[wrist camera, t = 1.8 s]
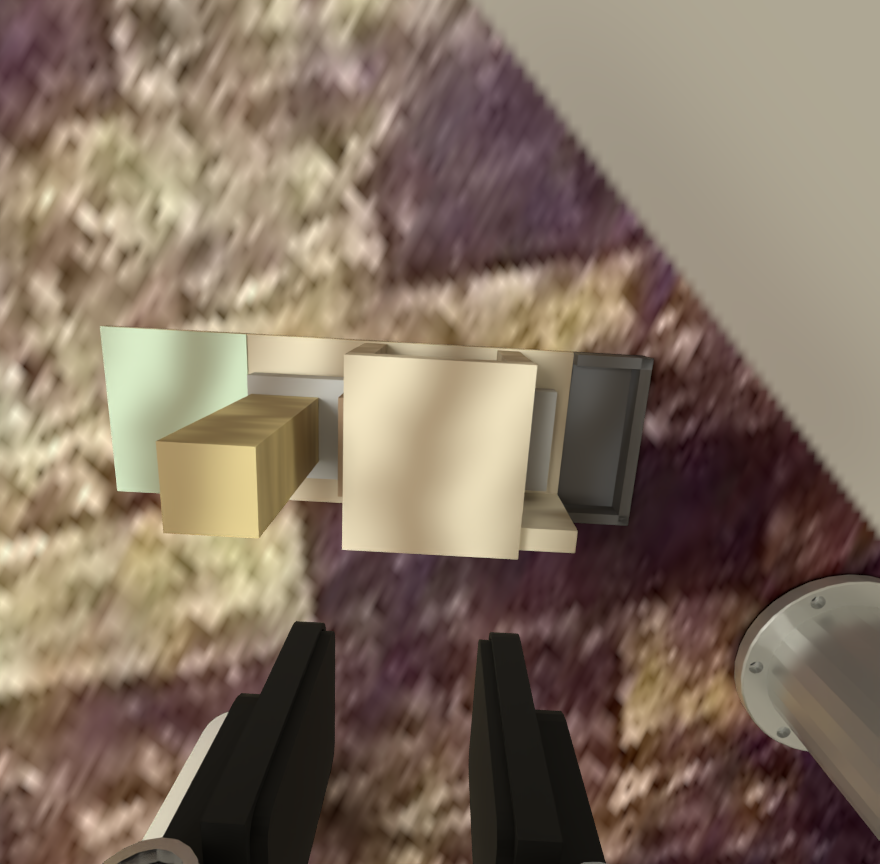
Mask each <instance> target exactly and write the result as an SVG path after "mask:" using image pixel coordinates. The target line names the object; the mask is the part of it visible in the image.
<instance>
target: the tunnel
mask: <svg viewBox="0 0 880 864" xmlns="http://www.w3.org/2000/svg"><path fill="white" fill-rule="evenodd" d="M100 332H101V341H102V351H103V360H104V369H105V379H106V388H107V397H108V407H109V416H110V425H111V435H112V444H113V454H114V463H115V472H116V482H117V491H128V492H146V493H160V485H159V474H158V462H157V450H156V441H157V440H159V439H161V438H163V437H165V436H167V435H169V434H171V433H173V432H175V431H177V430H179V429H181V428H183V427H185V426H187V425H189V424H191V423H193V422H195V421H198V420H200V419H202V418H204V417H206V416H208V415H210V414H212V413H214V412H216V411H218V410H220V409H222V408H224V407H226V406H228V405H230V404H232V403H234V402H236V401H238V400H240V399H242V398H244V397H246V396H248V389H247V375H248V374H251V373H253V372H262V373H279V374H297V375H315V376H333V377H344V399H343V497H338V480H335V479H317V478H306V479H305V480H304V481H303V482H302V484H301V485H300V486H299V488H298V489H297V490H296V491H295V493H294V494H293V495H292V496H291V498H290V499H289V500H301V501H318V502H336V503H343V522H342V550H358V551H376V552H394V553H412V554H430V555H448V556H465V557H483V558H501V559H518V552H519V550H528V551H546V552H564V553H575V548H576V541H577V533H578V531H577V529H576V527H575V525H574V524H573V523H589V524H607V525H625V526H628V520H629V514H630V507H631V501H632V494H633V488H634V482H635V475H636V469H637V462H638V456H639V450H640V443H641V437H642V430H643V424H644V418H645V411H646V405H647V398H648V392H649V386H650V379H651V373H652V366H653V360H654V359H652V358H649V357H646V356H639V355H621V354H603V353H585V352H568V351H550V350H532V349H514V348H496V347H478V346H461V345H443V344H425V343H407V342H389V341H371V340H354V339H336V338H318V337H300V336H282V335H265V334H247V333H229V332H211V331H193V330H175V329H158V328H140V327H122V326H100ZM535 388H547V389H554V390H555V391H556V392H557V400H556V409H555V418H554V427H553V435H552V444H551V453H550V462H549V471H548V480H547V489H546V491H531V490H525V483H526V473H527V463H528V453H529V443H530V434H531V424H532V414H533V404H534V394H535Z"/></svg>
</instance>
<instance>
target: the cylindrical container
mask: <svg viewBox="0 0 880 864" xmlns="http://www.w3.org/2000/svg"><path fill="white" fill-rule="evenodd" d="M227 714H228V712H227V713H224V714H222V715H220V716H218V717H216V718H215V719H214V720H212V721H211V722H210V723H209V724H208V725H207V727H206V728H205V730H204V731H203V733H202V735H201V736H200V738H199V740H198V742H197V744H196V745H195V747H194V749H193V751H192V752H191V754H190V756H189V758H188V760H187V761H186V763H185V765H184V767H183V769H182V770H181V772H180V774H179V776H178V778H177V779H176V781H175V783H174V785H173V786H172V788H171V790H170V792H169V794H168V795H167V797H166V799H165V801H164V803H163V804H162V806H161V808H160V810H159V811H158V813H157V815H156V817H155V819H154V820H153V822H152V824H151V826H150V827H149V829H148V831H147V833H146V835H145V836H144V838H143V840H149V839H155V838H161V837H163V835H164V833H165V832H166V830H167V828H168V826H169V824H170V822H171V820H172V818H173V816H174V814H175V813H176V811H177V809H178V807H179V805H180V803H181V801H182V799H183V797H184V796H185V794H186V792H187V790H188V788H189V786H190V784H191V782H192V780H193V778H194V777H195V775H196V773H197V771H198V769H199V767H200V765H201V763H202V761H203V759H204V758H205V756H206V754H207V752H208V750H209V748H210V746H211V744H212V742H213V741H214V739H215V737H216V735H217V733H218V731H219V729H220V727H221V725H222V723H223V722H224V720H225V718H226V716H227ZM143 840H142V841H143Z"/></svg>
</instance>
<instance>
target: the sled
mask: <svg viewBox="0 0 880 864" xmlns="http://www.w3.org/2000/svg"><path fill="white" fill-rule="evenodd" d="M247 389H248V396H246V397H244V398H242V399H240V400H238V401H236V402H234V403H232V404H230V405H228V406H226V407H224V408H222V409H220V410H218V411H216V412H214V413H212V414H210V415H208V416H206V417H204V418H202V419H200V420H198V421H195V422H193V423H191V424H189V425H187V426H185V427H183V428H181V429H179V430H177V431H175V432H173V433H171V434H169V435H167V436H165V437H163V438H161V439H159V440H157V441H156V450H157V462H158V474H159V485H160V497H161V509H162V521H163V532H164V533H172V534H190V535H208V536H225V537H243V538H260V536H261V535H262V534H263V532H264V531H265V530H266V529H267V527H268V526H269V525H270V523H271V522H272V521H273V520H274V518H275V517H276V516H277V514H278V513H279V512H280V511H281V509H282V508H283V507H284V505H285V504H286V503H287V502H288V500H289V499H290V498H291V496H292V495H293V494H294V493H295V491H296V490H297V489H298V488H299V486H300V485H301V484H302V482H303V481H304V480H305V479H306V478H317V479H335V480H338V497H343V399H344V377H333V376H315V375H297V374H279V373H262V372H253V373H251V374H248V375H247ZM556 400H557V392H556V391H555V390H554V389H547V388H535V394H534V404H533V414H532V424H531V434H530V443H529V453H528V463H527V473H526V483H525V490H531V491H546V489H547V480H548V471H549V462H550V453H551V444H552V435H553V427H554V418H555V409H556Z"/></svg>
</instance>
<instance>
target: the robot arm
mask: <svg viewBox="0 0 880 864" xmlns="http://www.w3.org/2000/svg"><path fill="white" fill-rule="evenodd" d="M734 679H735V685H736V691H737V694H738V696H739V698H740V701H741V703H742V705H743V707H744V708H745V710H746V711H747V712H748V714H749V715H750V717H751V718H752V720H753V721H754V722H755V723H756V724H757V725H758V727H759V728H760V729H761V730H762V731H763V732H764V733H765V734H767V735H768V736H770V737H771V738H772V739H774V740H776V741H777V742H780V743H782V744H784V745H787V746H789V747H791V748H794V749H799V750H803V751H808V752H810V754H811V755H812V756H813V758H814V759H815V760H816V761H817V763H818V764H819V765H820V766H821V768H822V769H823V770H824V771H825V773H826V774H827V775H828V776H829V778H830V779H831V780H832V781H833V783H834V784H835V785H836V787H837V788H838V789H839V790H840V792H841V793H842V794H843V795H844V797H845V798H846V799H847V800H848V802H849V803H850V804H851V805H852V807H853V808H854V809H855V810H856V812H857V813H858V814H859V816H860V817H861V818H862V819H863V821H864V822H865V823H866V824H867V826H868V827H869V828H870V829H871V831H872V832H873V833H874V834H875V836H876V837H877V838H878V839H879V841H880V578H876V577H872V576H866V575H841V576H832V577H826V578H823V579H819V580H816V581H812V582H809V583H806V584H804V585H802V586H800V587H798V588H795V589H793V590H791V591H789V592H788V593H786V594H785V595H783V596H782V597H780V598H779V599H777V600H775V601H774V602H773V603H772V604H771V605H769V606H768V607H767V608H766V609H765V610H764V611H763V612H762V613H761V614H760V615H759V616H758V617H757V618H756V620H755V621H754V622H753V623H752V625H751V626H750V627H749V629H748V630H747V632H746V634H745V636H744V638H743V640H742V642H741V644H740V646H739V649H738V653H737V656H736V660H735V671H734ZM334 745H335V633H334V631H326V627H325V624H324V623H316V622H298V621H296V622H295V623H294V624H293V626H292V628H291V630H290V632H289V634H288V637H287V639H286V641H285V643H284V645H283V647H282V649H281V651H280V654H279V656H278V658H277V660H276V662H275V664H274V666H273V668H272V671H271V673H270V675H269V677H268V679H267V681H266V683H265V685H264V688H263V690H262V692H261V694H246V693H241V694H240V695H239V696H238V697H237V698H236V700H235V701H234V703H233V704H232V706H231V708H230V710H229V712H228V714H227V716H226V718H225V720H224V722H223V723H222V725H221V727H220V729H219V731H218V733H217V735H216V737H215V739H214V741H213V742H212V744H211V746H210V748H209V750H208V752H207V754H206V756H205V758H204V759H203V761H202V763H201V765H200V767H199V769H198V771H197V773H196V775H195V777H194V778H193V780H192V782H191V784H190V786H189V788H188V790H187V792H186V794H185V796H184V797H183V799H182V801H181V803H180V805H179V807H178V809H177V811H176V813H175V814H174V816H173V818H172V820H171V822H170V824H169V826H168V828H167V830H166V832H165V833H164V835H163V837H161V838H155V839H149V840H143V841H141V842H138V843H136V844H133V845H131V846H129V847H126V848H124V849H122V850H121V851H119V852H118V853H116V854H115V855H113V856H112V857H110V858H109V859H107V860H106V861H104V862H103V863H102V864H308V861H309V857H310V852H311V848H312V844H313V840H314V836H315V832H316V828H317V824H318V820H319V816H320V812H321V808H322V804H323V800H324V796H325V792H326V788H327V784H328V779H329V775H330V771H331V767H332V762H333V756H334ZM469 789H470V812H471V835H472V857H473V864H606V862H605V859H604V855H603V852H602V848H601V844H600V841H599V837H598V834H597V830H596V826H595V823H594V819H593V816H592V812H591V809H590V805H589V801H588V798H587V794H586V791H585V787H584V783H583V780H582V776H581V773H580V769H579V766H578V762H577V758H576V755H575V751H574V748H573V744H572V740H571V737H570V733H569V730H568V726H567V723H566V720H565V717H564V714H563V713H562V712H561V711H549V710H535V708H534V703H533V698H532V693H531V689H530V684H529V679H528V674H527V670H526V665H525V660H524V655H523V651H522V646H521V641H520V637H519V635H518V634H512V633H494V632H490V634H489V640H479V642H478V653H477V665H476V677H475V688H474V700H473V712H472V724H471V736H470V748H469Z"/></svg>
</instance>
